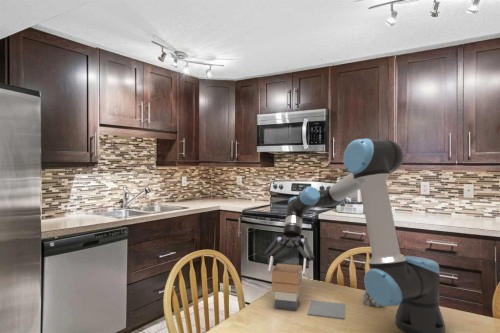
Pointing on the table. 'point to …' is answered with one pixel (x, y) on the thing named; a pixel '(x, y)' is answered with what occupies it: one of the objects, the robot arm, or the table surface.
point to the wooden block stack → (287, 278)
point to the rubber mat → (327, 309)
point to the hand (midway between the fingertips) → (286, 273)
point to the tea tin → (286, 300)
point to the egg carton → (370, 302)
